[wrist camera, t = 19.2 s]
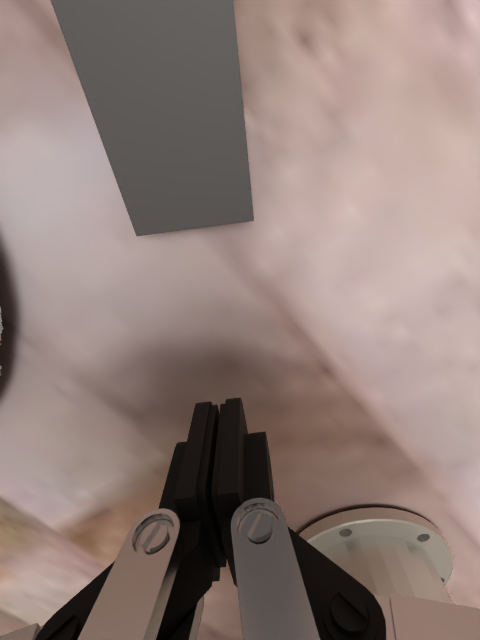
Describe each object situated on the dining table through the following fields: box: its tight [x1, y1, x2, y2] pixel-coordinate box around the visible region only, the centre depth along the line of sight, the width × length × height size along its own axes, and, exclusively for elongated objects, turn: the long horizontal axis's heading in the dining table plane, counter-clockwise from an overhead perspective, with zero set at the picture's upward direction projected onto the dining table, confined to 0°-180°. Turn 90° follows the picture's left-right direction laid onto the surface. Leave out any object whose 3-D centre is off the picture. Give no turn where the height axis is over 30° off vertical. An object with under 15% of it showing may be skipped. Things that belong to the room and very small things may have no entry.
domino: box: [51, 0, 254, 236], centre depth 11 cm, size 2×5×10 cm
